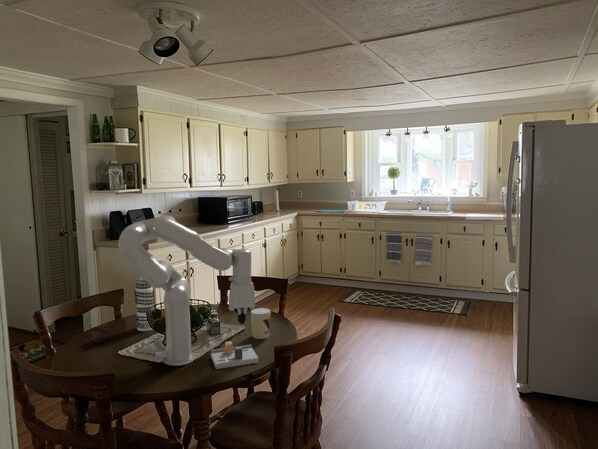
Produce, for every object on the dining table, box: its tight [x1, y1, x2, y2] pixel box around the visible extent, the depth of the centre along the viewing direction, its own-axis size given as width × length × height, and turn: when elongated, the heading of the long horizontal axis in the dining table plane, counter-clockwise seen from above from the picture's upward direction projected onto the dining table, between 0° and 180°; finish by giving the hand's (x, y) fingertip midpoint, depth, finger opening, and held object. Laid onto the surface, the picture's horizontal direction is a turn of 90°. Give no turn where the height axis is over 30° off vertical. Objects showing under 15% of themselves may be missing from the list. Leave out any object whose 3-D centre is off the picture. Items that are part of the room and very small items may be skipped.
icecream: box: [89, 324, 108, 344], centre depth 206 cm, size 7×7×15 cm
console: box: [210, 344, 259, 370], centre depth 186 cm, size 17×12×3 cm
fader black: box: [234, 345, 242, 360], centre depth 183 cm, size 2×3×4 cm
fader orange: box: [224, 341, 234, 354], centre depth 188 cm, size 2×3×4 cm
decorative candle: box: [133, 276, 155, 332], centre depth 222 cm, size 9×9×25 cm
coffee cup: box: [250, 307, 272, 340], centre depth 212 cm, size 9×9×12 cm
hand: (241, 322), depth 189 cm, fingers closed
